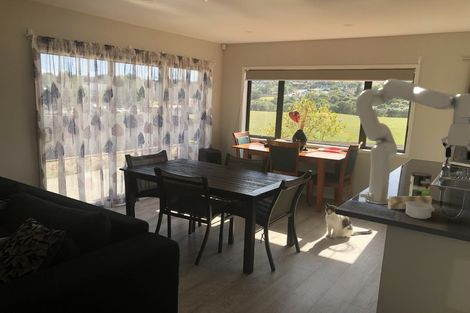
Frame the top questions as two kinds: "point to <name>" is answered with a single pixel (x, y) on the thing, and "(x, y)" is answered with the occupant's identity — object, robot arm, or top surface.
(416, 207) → the saucepan
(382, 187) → the robot arm
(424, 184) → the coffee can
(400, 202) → the stop board
